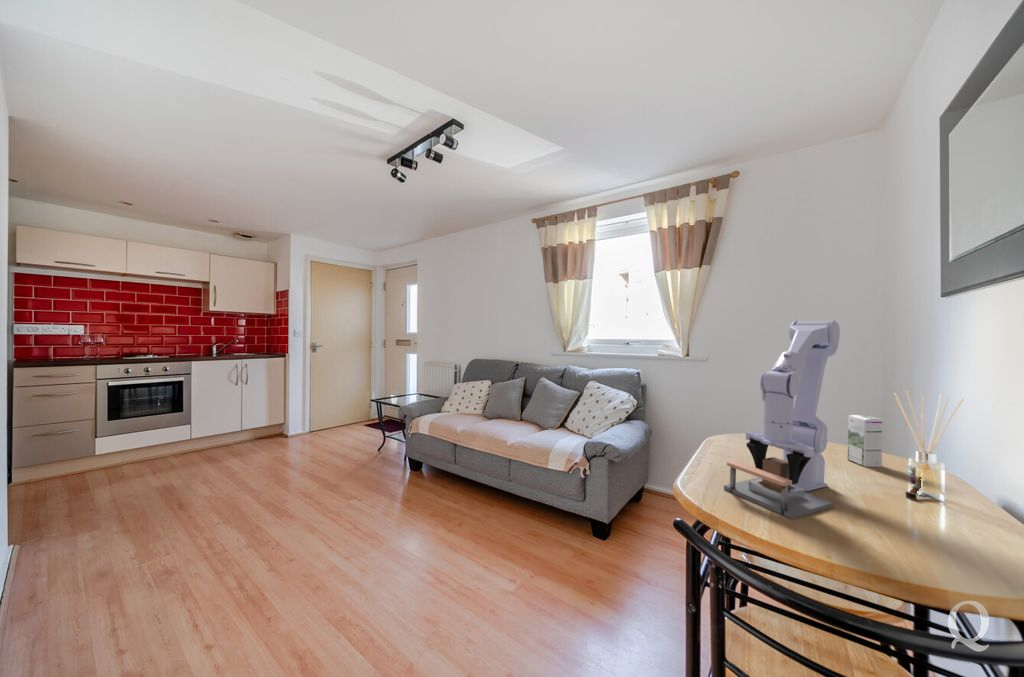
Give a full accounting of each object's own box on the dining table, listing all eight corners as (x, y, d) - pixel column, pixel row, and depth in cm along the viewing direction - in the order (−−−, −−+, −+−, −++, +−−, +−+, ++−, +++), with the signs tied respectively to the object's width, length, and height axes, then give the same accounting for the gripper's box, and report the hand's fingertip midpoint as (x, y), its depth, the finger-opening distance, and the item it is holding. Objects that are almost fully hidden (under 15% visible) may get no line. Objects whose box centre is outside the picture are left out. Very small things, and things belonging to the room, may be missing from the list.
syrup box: (882, 467, 111) (884, 419, 111) (862, 466, 111) (864, 418, 111) (865, 460, 117) (866, 414, 117) (846, 460, 117) (847, 414, 117)
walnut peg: (772, 488, 92) (773, 457, 92) (789, 495, 89) (790, 462, 89) (761, 491, 91) (762, 459, 91) (778, 498, 87) (780, 464, 87)
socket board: (762, 480, 100) (763, 452, 100) (832, 506, 85) (834, 474, 85) (721, 489, 94) (721, 460, 94) (789, 520, 79) (790, 485, 79)
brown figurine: (929, 490, 93) (927, 475, 92) (918, 509, 90) (915, 494, 89) (919, 487, 95) (917, 472, 94) (907, 506, 92) (905, 491, 91)
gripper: (738, 415, 94) (736, 468, 95) (801, 430, 81) (799, 492, 81) (756, 413, 97) (754, 465, 98) (820, 427, 84) (818, 487, 84)
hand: (776, 477), depth 90 cm, fingers open, 7 cm apart
